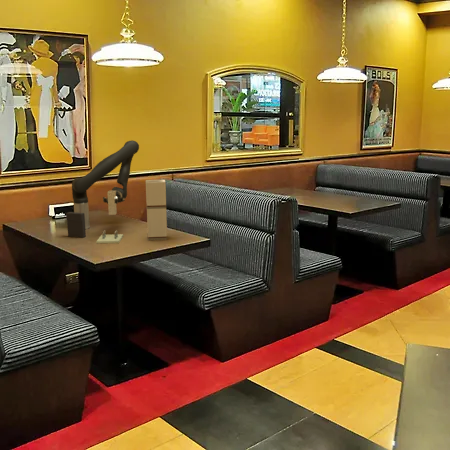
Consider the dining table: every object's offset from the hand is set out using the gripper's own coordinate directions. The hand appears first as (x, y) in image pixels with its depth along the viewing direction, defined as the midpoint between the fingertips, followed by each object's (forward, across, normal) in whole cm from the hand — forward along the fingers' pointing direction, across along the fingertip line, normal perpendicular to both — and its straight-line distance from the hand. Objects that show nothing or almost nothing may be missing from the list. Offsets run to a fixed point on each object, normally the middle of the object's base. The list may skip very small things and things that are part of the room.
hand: (111, 201), depth 334 cm
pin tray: (+8, -1, +22) cm, 23 cm away
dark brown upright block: (-2, -22, +22) cm, 32 cm away
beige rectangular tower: (+5, +27, +22) cm, 36 cm away
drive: (-3, 0, +8) cm, 8 cm away
